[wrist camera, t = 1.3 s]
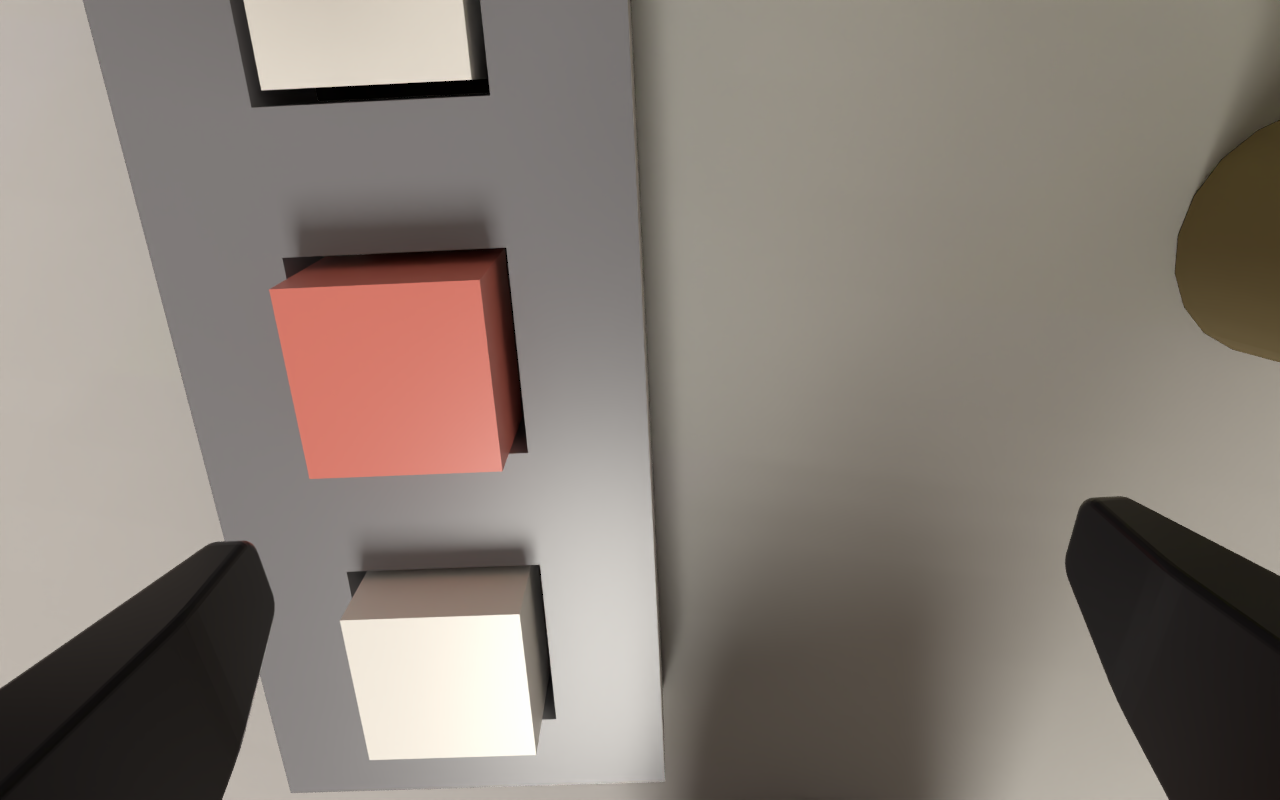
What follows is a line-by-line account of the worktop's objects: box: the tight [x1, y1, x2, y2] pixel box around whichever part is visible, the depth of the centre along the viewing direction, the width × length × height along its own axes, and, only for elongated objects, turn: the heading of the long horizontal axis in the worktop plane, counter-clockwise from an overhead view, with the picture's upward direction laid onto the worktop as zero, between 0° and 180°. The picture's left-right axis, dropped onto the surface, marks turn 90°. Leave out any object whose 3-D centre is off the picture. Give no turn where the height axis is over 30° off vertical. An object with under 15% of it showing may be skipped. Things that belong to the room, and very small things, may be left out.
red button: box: [269, 248, 523, 479], centre depth 18 cm, size 4×4×3 cm
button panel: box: [83, 0, 665, 793], centre depth 20 cm, size 24×10×4 cm, turn 3°
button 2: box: [340, 565, 550, 760], centre depth 21 cm, size 4×4×3 cm
